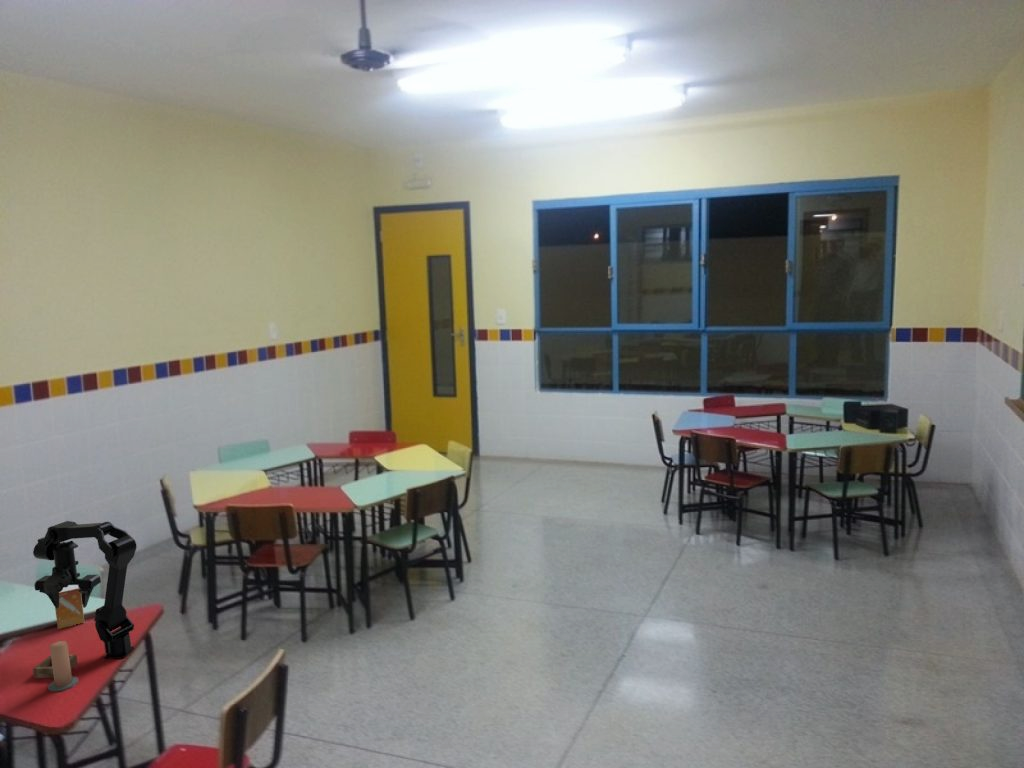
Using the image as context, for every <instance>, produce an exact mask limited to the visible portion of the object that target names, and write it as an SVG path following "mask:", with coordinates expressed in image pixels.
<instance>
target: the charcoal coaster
mask: <svg viewBox="0 0 1024 768" xmlns="http://www.w3.org/2000/svg"><path fill="white" fill-rule="evenodd" d="M78 683H79V678H78V677H77V676H73V675H72V682H71V683H70V684H68V685H66V686H63V687H56V686H55V682H54V680H53V681H52V682H50V684H49V685H48V686H47V688H48V691H49V692H53V693H58V692H64V691H67V690H70V689H72V688H74V687H75V686H76V685H78Z"/></svg>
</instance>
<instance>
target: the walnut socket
mask: <svg viewBox="0 0 1024 768" xmlns="http://www.w3.org/2000/svg"><path fill="white" fill-rule="evenodd" d="M69 660H70V667H71V670H72V669H73V668H74V667H76V666H77V664H79V663H78V656H77V654H69ZM75 665H76V666H75ZM32 671H33V678H34V679H54V675H53V668H52V660H51V654H50V655H49V656H47V657H46V658H45V659H44V660H42V661H41V662H40V663H38V664H37V665H36V666H34V667H33V668H32Z"/></svg>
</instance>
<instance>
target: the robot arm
mask: <svg viewBox="0 0 1024 768" xmlns="http://www.w3.org/2000/svg"><path fill="white" fill-rule="evenodd" d="M108 535H109V536H110V537H112V538H114V540H111V541H109V542H108V541H107V540H106V539H105V536H108ZM89 538H90V539H91V538H92V539H93V538H95V539H96V540H97V544H98V545H97V546H98V549H99V550H100V551H101V552H102V553H103V554H104V559H105V561H106V562H107V564H108V566H109V567H108V574H107V581H106V590H105V596H104V603H103V605H102V606H100V607H98V608H96V610H95V612H94V613H95V617H94V620H93V621H94V626H95V629H96V632H97V634H98V637H99V640H100V641H102V642H103V643H104V651H105V655H104V656H103V657H104V659H124V658H126V657H127V656H128V655H129V654H130V653H131V652H132V651H133V650H134V649H135V646H132V643H131V636H130V634H131V633H130V632H132V631H134V630H135V629H134V627H135V624H134V622H133V621H132V620H131V619H130V617H128V615H127V609H126V608H125V607H124V605H123V598H124V593H125V592H124V591H125V584H126V583H125V582H126V576H127V571H128V565H129V564H130V562H131V561H132V559H134V557H135V554H136V551H137V542H136V540H135V539H134V537H132V536H131V534H129V532H127V531H126V530H124V529H121V528H119V527H116V526H115V525H114V524H113V523H112V522H110V521H102V522H96V523H95V522H94V523H92V522H91V523H81V524H79V523H77V522H76V521H72V520H71V521H69V520H66V521H63V522H60V523H57V524H55V525H51V526H48V528H47V530H46V534H45V535H44V537H42V538H41V537H40V538H38V539H37V543H36V544H35V546H34V547H33V551H32V553H33V556H34V558H36V559H38V560H45V561H53V562H54V567H52V569H51V575H44V576H42V577H41V578H39V579H37V580H35V583H34V590H35V591H38V592H39V593H42V594H44V595H46V596H47V598H49V600H50V601H51V603H52V604H53V606H54V609H55V608H58V607H59V592H61V591H62V590H63V588H64V587H68V586H69V585H78V587H79V588H80V590H78V591H79V592H80V593H81V597H82V606H83V608H84V609H85V608H86V607H87V605H88V603H89V600H90V597H91V594H92V592H93V590H94V588H95V587H96V586H98V585H99V584H101V582H102V581H101V580H102V579H101V576H100V575H99V574H87V575H85V576H84V577H82V578H79V577H81V573H80V572H78V571H77V566H78V565H79V561H78V560H76V557H75V555H76V554H75V550H74V549H76V548H79V544H77V543H75V542H74V541H73V539H89ZM69 540H70V541H69Z"/></svg>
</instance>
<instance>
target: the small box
mask: <svg viewBox="0 0 1024 768" xmlns="http://www.w3.org/2000/svg"><path fill="white" fill-rule="evenodd" d="M78 590H80V588H79V587H78V585H69V586H68V587H64V588H63V590H62V591H61V592H59V607H58V608H55V607H54V610H55V616H56V617H55V618H56V624H57V625H56V626H57V629H58V630H60V629H64V628H68V627H69V628H70V627H73V625H74V626H77V625H76V624H78V625H81V624H80V623H83V622H84V623H85V617H84V616H85V615H84V609H83V605H82V597H81V593H80V592H79V591H78ZM84 623H83V624H84Z"/></svg>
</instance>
